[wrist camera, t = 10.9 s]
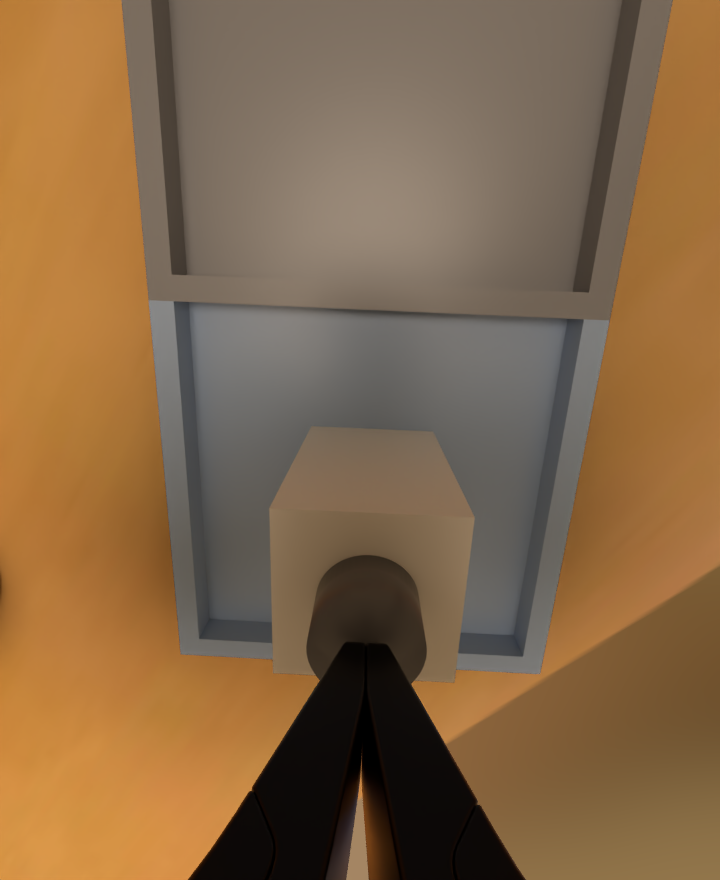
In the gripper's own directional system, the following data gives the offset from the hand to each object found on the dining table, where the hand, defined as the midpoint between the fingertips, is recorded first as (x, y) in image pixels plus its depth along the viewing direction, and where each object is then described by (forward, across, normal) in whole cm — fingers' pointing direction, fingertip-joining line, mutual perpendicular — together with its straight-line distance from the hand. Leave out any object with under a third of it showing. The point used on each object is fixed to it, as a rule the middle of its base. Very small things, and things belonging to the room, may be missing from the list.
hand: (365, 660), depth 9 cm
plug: (+9, 0, 0) cm, 9 cm away
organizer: (+9, 0, -7) cm, 12 cm away
